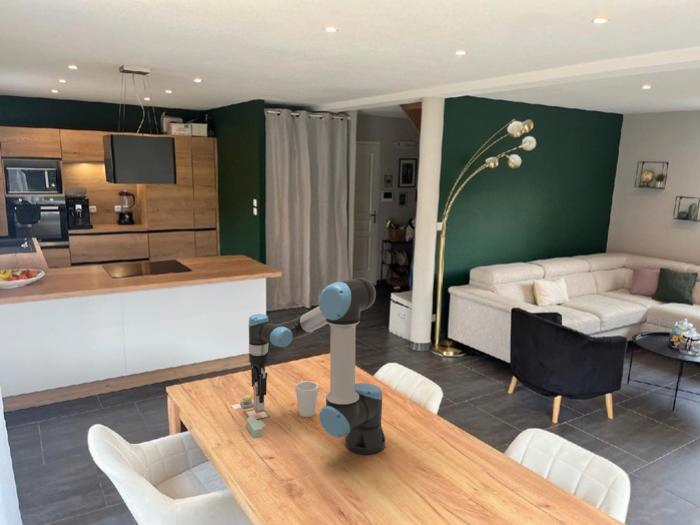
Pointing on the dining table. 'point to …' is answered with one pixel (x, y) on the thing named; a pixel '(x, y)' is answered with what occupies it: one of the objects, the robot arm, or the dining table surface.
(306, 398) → the foam cup
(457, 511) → the dining table surface
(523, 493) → the dining table surface
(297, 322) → the robot arm
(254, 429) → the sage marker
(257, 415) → the white flat panel
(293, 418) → the dining table surface
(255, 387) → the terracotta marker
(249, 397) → the button
